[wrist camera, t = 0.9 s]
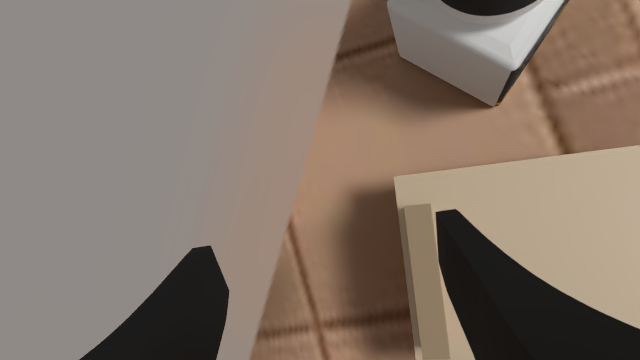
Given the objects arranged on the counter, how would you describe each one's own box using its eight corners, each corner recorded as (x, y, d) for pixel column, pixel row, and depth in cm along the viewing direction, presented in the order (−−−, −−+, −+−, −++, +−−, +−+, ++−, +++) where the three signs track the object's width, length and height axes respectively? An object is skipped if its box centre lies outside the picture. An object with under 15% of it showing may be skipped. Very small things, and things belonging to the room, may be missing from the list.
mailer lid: (736, 376, 18) (783, 401, 16) (418, 379, 22) (416, 399, 19) (687, 140, 20) (723, 128, 17) (394, 177, 23) (389, 172, 21)
